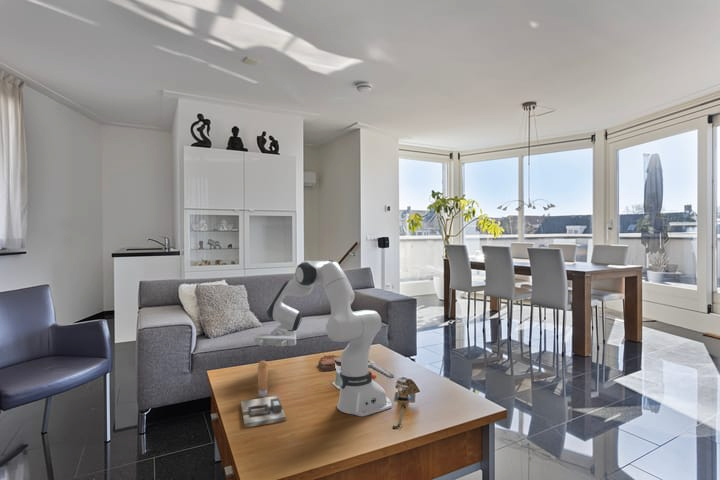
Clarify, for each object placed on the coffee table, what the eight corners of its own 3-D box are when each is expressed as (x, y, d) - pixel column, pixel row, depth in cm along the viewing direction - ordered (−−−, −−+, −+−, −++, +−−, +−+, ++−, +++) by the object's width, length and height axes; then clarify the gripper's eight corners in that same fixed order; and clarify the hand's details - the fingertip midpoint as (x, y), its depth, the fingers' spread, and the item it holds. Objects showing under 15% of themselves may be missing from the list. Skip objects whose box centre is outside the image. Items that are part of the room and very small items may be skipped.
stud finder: (278, 404, 156) (278, 398, 156) (281, 411, 150) (281, 405, 150) (270, 405, 155) (270, 399, 155) (273, 413, 149) (273, 406, 149)
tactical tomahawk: (410, 434, 139) (410, 431, 139) (392, 430, 140) (392, 427, 140) (416, 407, 159) (416, 404, 159) (400, 404, 161) (400, 401, 160)
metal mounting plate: (277, 399, 165) (277, 393, 165) (285, 420, 146) (285, 414, 146) (241, 404, 159) (241, 399, 159) (244, 427, 141) (244, 421, 141)
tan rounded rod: (266, 393, 171) (266, 358, 171) (268, 396, 167) (267, 361, 167) (257, 394, 170) (257, 359, 169) (258, 398, 166) (258, 362, 166)
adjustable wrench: (395, 378, 190) (395, 374, 190) (384, 380, 187) (384, 377, 187) (371, 362, 213) (371, 359, 213) (360, 364, 210) (360, 361, 210)
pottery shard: (316, 362, 213) (316, 355, 213) (344, 360, 217) (344, 353, 217) (320, 372, 197) (320, 365, 197) (350, 370, 201) (350, 362, 201)
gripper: (259, 329, 195) (249, 337, 181) (299, 330, 193) (292, 338, 179) (259, 342, 195) (249, 350, 181) (298, 343, 193) (292, 352, 180)
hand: (270, 344), depth 180 cm, fingers open, 8 cm apart
